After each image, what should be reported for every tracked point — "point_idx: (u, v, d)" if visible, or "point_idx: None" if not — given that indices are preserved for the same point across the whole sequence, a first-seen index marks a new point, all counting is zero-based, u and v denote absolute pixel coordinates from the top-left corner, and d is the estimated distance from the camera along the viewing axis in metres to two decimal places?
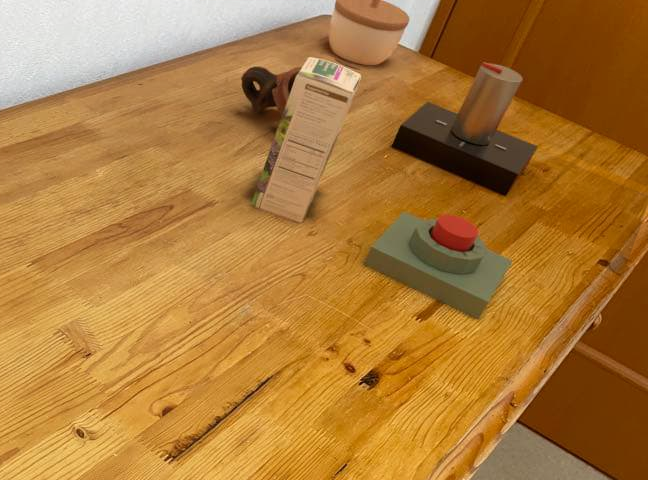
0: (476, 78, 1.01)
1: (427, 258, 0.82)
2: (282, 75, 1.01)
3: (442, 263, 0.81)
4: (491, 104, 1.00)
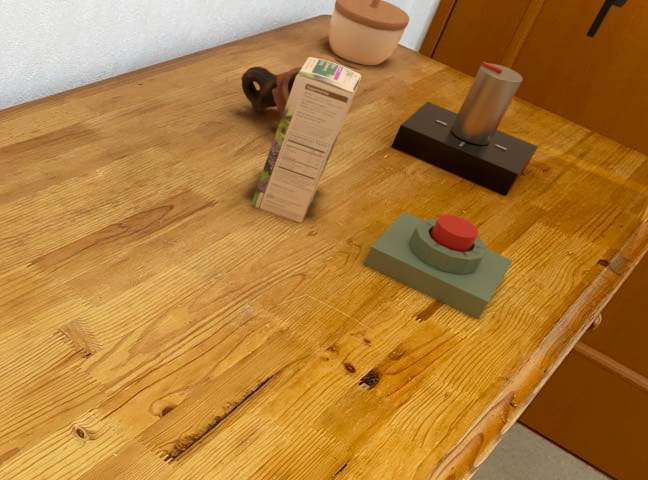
0: (476, 78, 1.01)
1: (427, 258, 0.82)
2: (282, 75, 1.01)
3: (442, 263, 0.81)
4: (491, 104, 1.00)
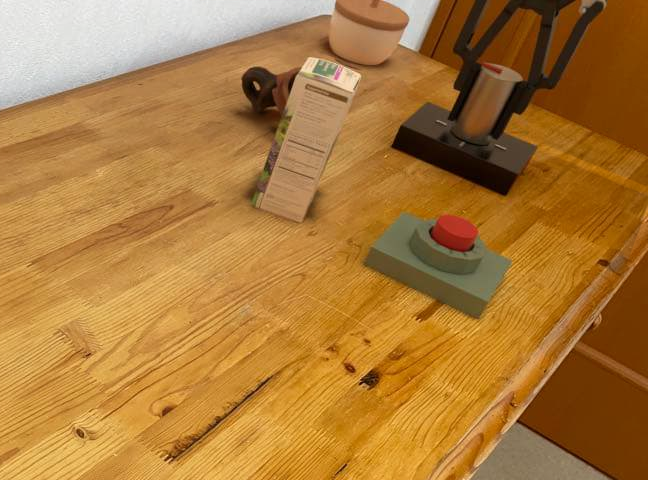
0: (476, 78, 1.01)
1: (427, 258, 0.82)
2: (282, 75, 1.01)
3: (442, 263, 0.81)
4: (491, 104, 1.00)
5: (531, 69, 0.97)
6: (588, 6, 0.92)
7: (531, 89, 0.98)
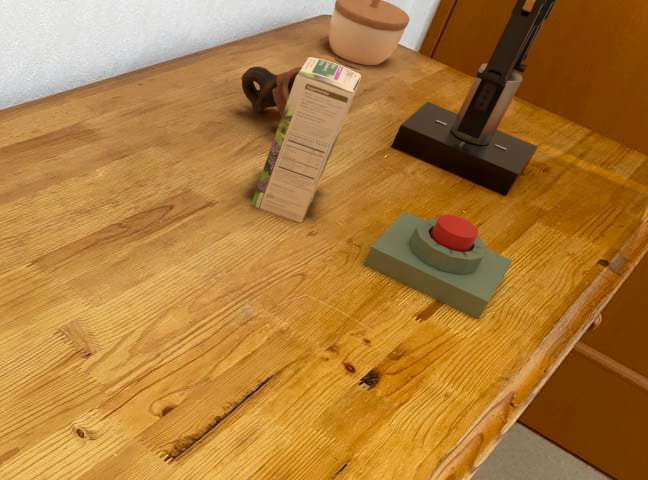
0: None
1: (427, 258, 0.82)
2: (282, 75, 1.01)
3: (442, 263, 0.81)
4: (469, 91, 1.02)
5: None
6: None
7: (476, 75, 0.98)
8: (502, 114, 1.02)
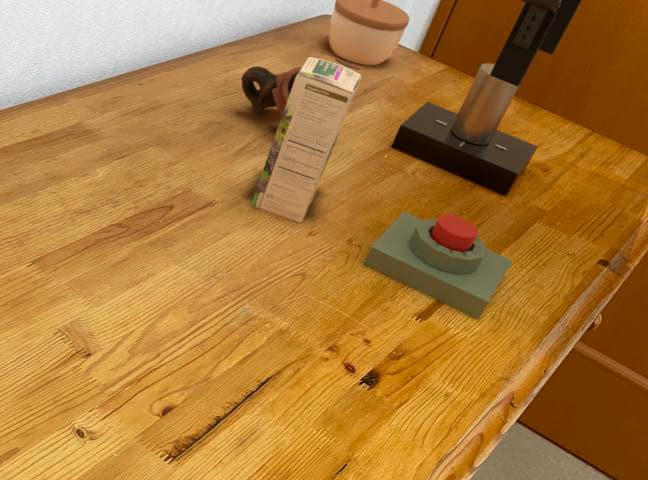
0: None
1: (427, 258, 0.82)
2: (282, 75, 1.01)
3: (442, 263, 0.81)
4: (469, 91, 1.02)
5: None
6: None
7: None
8: (502, 114, 1.02)
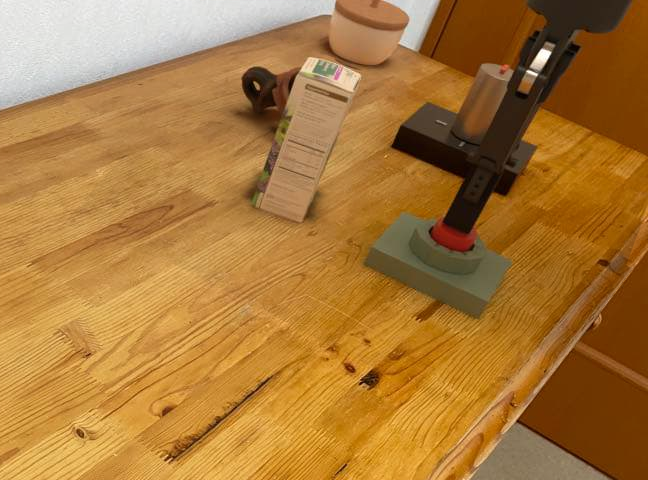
0: None
1: (427, 258, 0.82)
2: (282, 75, 1.01)
3: (442, 263, 0.81)
4: (469, 91, 1.02)
5: None
6: None
7: (466, 158, 0.77)
8: None
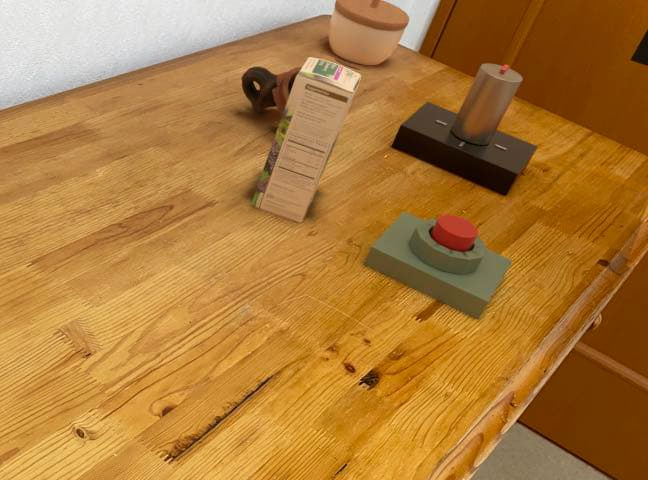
0: None
1: (427, 258, 0.82)
2: (282, 75, 1.01)
3: (442, 263, 0.81)
4: (469, 91, 1.02)
5: None
6: None
7: None
8: (502, 114, 1.02)
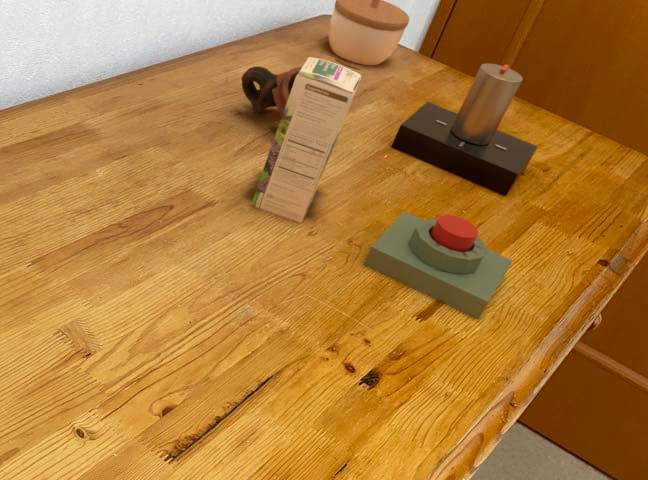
0: None
1: (427, 258, 0.82)
2: (282, 75, 1.01)
3: (442, 263, 0.81)
4: (469, 91, 1.02)
5: None
6: None
7: None
8: (502, 114, 1.02)
